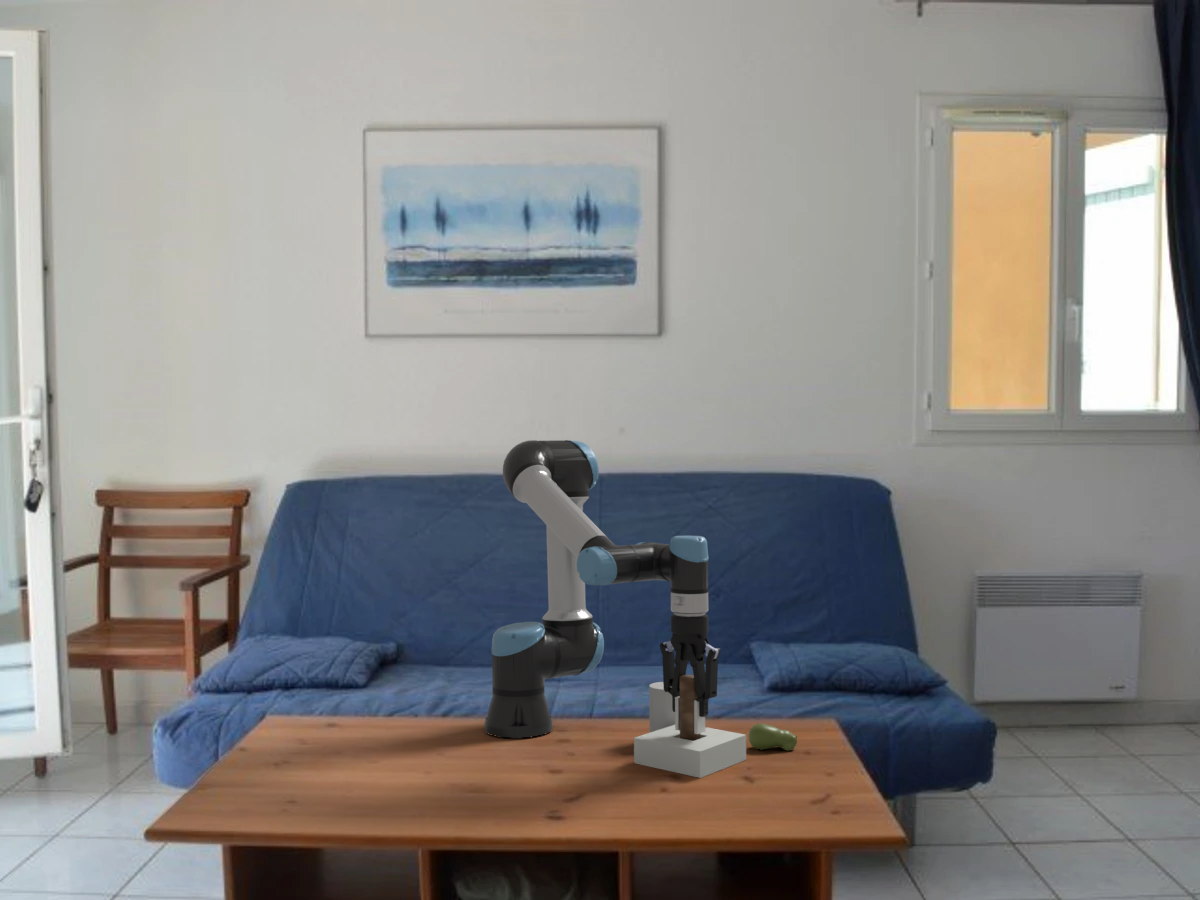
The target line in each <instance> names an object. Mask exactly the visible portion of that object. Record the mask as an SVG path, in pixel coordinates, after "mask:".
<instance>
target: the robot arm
mask: <svg viewBox="0 0 1200 900" xmlns="http://www.w3.org/2000/svg"><path fill="white" fill-rule="evenodd" d="M599 470H600V469H599V462H598V459H597V456H596V454H595V453H594V451H593V450H592V449H591V447H590V446H589V445H588V444H586V443H585V442H583V441H578V440H570V439H565V440H563V439H562V440H536V439H535V440H534V439H533V440H531V439H530V440H525V441H522V442H519V443H518V444H516V445H515V446H513V447H512V448H511V449H510V451H509V452H508V453H507V454H506V456H505V459H504V461H503V465H502V477H503V478H502V479H503V482H504V484H505V486H506V488H507V490H508V491H509V492H510V493H511V495H512V496H513V497H514V499H516V500H517V501H519V502H520V503H523V504H526V505H527V506H528V507H529V508H531V510H532V511H533V512H534V513H535V514H536V515H537V517H538V518H540V520H542V521H543V523H544V524H545V525H546V529H545V530H546V555H547V556H546V557H547V560H546V561H547V563H546V564H547V593H548V595H547V597H548V598H547V599H548V610H547V612H546V613H545V614H544V615H543V616H542V619H541V620H542V622H538V621H523V622H514V623H510V624H506V625H503V626H501V627H499V628H497V629H496V630H495V632H494V633H493V635H492V640H491V648H490V651H491V665H492V666H491V668H492V670H491V672H492V674H491V679H492V681H491V682H492V683H491V686H492V690H491V691H492V693H491V694H492V696H491V700H490V702H489V707H488V710H487V716H486V717H485V719H484V732H485V731H486V732H487V733H489V734H492V735H496V736H500V737H499V738H502V737H512V738H511V739H523V738H522V737H530V738H532V737H531V736H537V735H541V736H543V735H542V734H545V733H548V732H550V731H551V730H552V729H553V727H554V726H553V725H554V724H553V717H552V715H550V709H549V706H548V702H547V698H546V695H545V691H546V690H545V683H546V681H545V680H548V679H551V680H552V679H555V678H560V677H569V676H575V677H576V676H579V675H581V674H585V673H589V672H592V671H593V670H595V668H597V666H598V665H599V664H600V662H601V660H602V658H603V655H604V649H605V640H604V639H605V638H604V635H603V634H604V633H602V632H601V630H602V629H601V627H600V626H599V625H598V623H595V622H594V621H593V615H592V613H591V612H589V611H588V610H587V606H586V604H587V603H586V585H588V586H602V587H603V586H607V585H608V586H609V585H615V584H617V585H618V584H623V583H624V584H625V583H635V582H636V583H637V582H647V581H665V582H666V581H667V582H670V611H671V612H672V614H671V615H670V632H671V633H672V636H671V638H670V640H669V641H663V642H660V643H659V647H660V648H659V649H660V651H661V655H662V656H661V658H662V682H663V684H664V691H665V692H669V693H670V694H671V695H672V709H673V712H675V730H680V676H682V675H687V670H688V669H687V667H688V663H689V665H690V666H691V667H692V673H693V674H692V675H694V680H695V686H696V692H697V698H696V700H695V701H694V734H699V733H702V732H705V727H706V717H707V716H708V715H709V700H710V699H713V698H716V697H717V696H718V676H719V675H718V670H719V669H718V668H719V665H718V664H719V657H720V655H721V653H722V652H721V648H719V647H716V648H715V647H714V646H712V645H710V643H709V642H710V641H709V639H708V633H709V616H708V614H706V613H708V612H709V558H710V557H709V556H710V555H709V550H708V541H707V539H706V538H705V537H704V536H701V535H675V536H672V537H671V538H670V543H660V542H659V543H657V542H654V541H644V542H643V541H642V542H638V543H636V544H625V545H624V544H623V545H616V544H615V543H614V542H613V541H611V539H610V538H608V536H607V535H606V534H605V533H604V532H603V531H602V530H601V529H600V528H599V527H598V526H597V525H596V524H595V523H594V522H593V520H591V519H590V518H589V516H587V514H586V513H584V512H583V511H584V504H585V503H586V501H588V499H590V490H591V489H593V488H594V487H595V486H596V484H597V481H598V479H599V474H600V473H599ZM705 657H706V659H705ZM552 731H553V730H552ZM552 731H551V732H552ZM486 732H485V733H486ZM551 732H550V733H551ZM487 733H486V734H487ZM489 734H488V735H489ZM548 734H549V733H548ZM545 735H546V734H545ZM537 737H538V736H537Z"/></svg>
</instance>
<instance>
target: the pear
mask: <svg viewBox="0 0 1200 900" xmlns="http://www.w3.org/2000/svg"><path fill="white" fill-rule="evenodd" d="M748 732H749V733H748V741H749V744H750V745H751V747H753V748H754V749H755V750H758V749H760V750H759V751H764V749H765V750H768V749H772V748H777V747H778V748H781V749H782V750H785V751H787V752H790V751H789V750H793V751H795V747H796V746H797V744H798V741H797V738H798V736H797V735H796V734H793V733H792V732H791V731H789V730H787V729H781V728H778V727H777V726H774V725H771V724H768V723H767V724H766V723H756V724H754V725H752V727H751V728H750V729H749V731H748Z"/></svg>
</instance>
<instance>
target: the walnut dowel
mask: <svg viewBox="0 0 1200 900" xmlns="http://www.w3.org/2000/svg"><path fill="white" fill-rule="evenodd" d="M696 698H697V692H696V686H695V680H694V674H686V675H682V676H680V738H681V739H686V740H691V741H694V740H697V739H700V733H699V734H694V701H695V700H696Z"/></svg>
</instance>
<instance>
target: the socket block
mask: <svg viewBox="0 0 1200 900" xmlns="http://www.w3.org/2000/svg"><path fill="white" fill-rule="evenodd" d="M746 760H747V734H744V733H739V732H734V731H729V730H723V729H716V728H712V727H706V726H705V732H702V733H700V739H697V740H694V741H691V740H686V739H681V738H680V730H675V725H672V726H669V727H666V728H663V729H660V730H657V731H654V732H650V731H649V732H647V733H644V734H642V735H639V736H635V737H634V738H633V763H634V764H636V765H637V764H638V765H641V766H646V767H650V768H655V769H658V770H663V771H668V772H671V773H672V772H673V773H677V774H682V775H686V776H689V777H694V778H699V779H701V778H705V777H706V776H709V775H712V774H714V773H716V772H719V771H721V770H724V769H726V768H729V767H731V766H734V765H736V764H739V763H742V762H744V761H746Z"/></svg>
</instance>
